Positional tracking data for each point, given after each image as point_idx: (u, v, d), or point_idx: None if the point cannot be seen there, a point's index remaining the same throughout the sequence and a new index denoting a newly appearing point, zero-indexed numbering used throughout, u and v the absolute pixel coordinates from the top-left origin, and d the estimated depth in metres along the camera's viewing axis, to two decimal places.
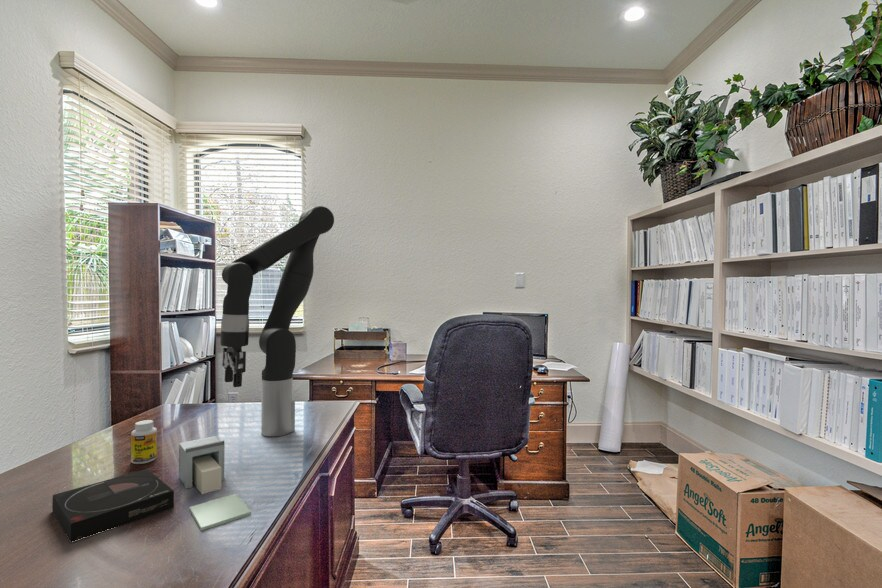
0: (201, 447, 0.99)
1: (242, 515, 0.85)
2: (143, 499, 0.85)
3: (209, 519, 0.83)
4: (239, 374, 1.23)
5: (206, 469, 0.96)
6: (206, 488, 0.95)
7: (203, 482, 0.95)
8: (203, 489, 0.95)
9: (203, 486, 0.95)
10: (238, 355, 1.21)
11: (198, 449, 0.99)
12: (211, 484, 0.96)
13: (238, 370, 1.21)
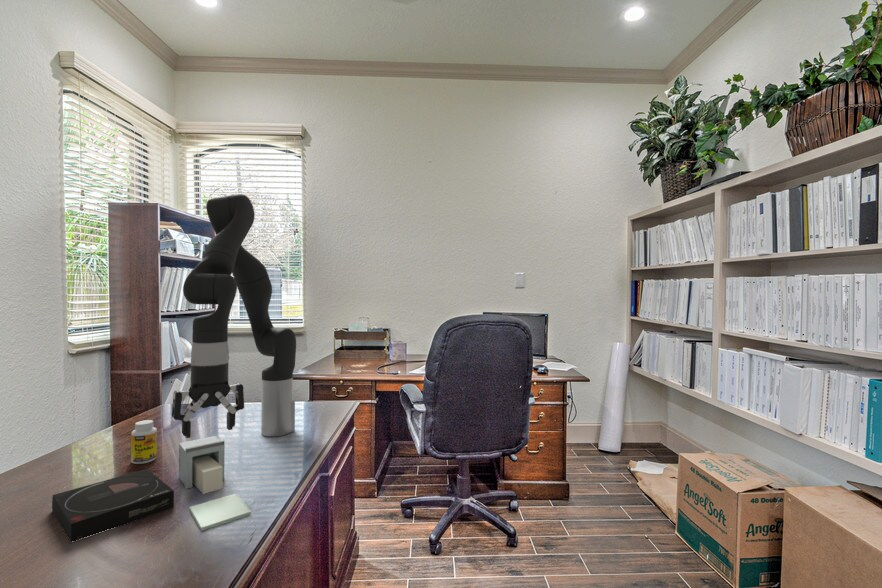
0: (201, 447, 0.99)
1: (242, 515, 0.85)
2: (143, 499, 0.85)
3: (209, 519, 0.83)
4: None
5: (207, 469, 0.96)
6: (207, 488, 0.95)
7: (204, 482, 0.95)
8: (204, 489, 0.95)
9: (204, 486, 0.95)
10: None
11: (198, 449, 0.99)
12: (212, 484, 0.96)
13: None
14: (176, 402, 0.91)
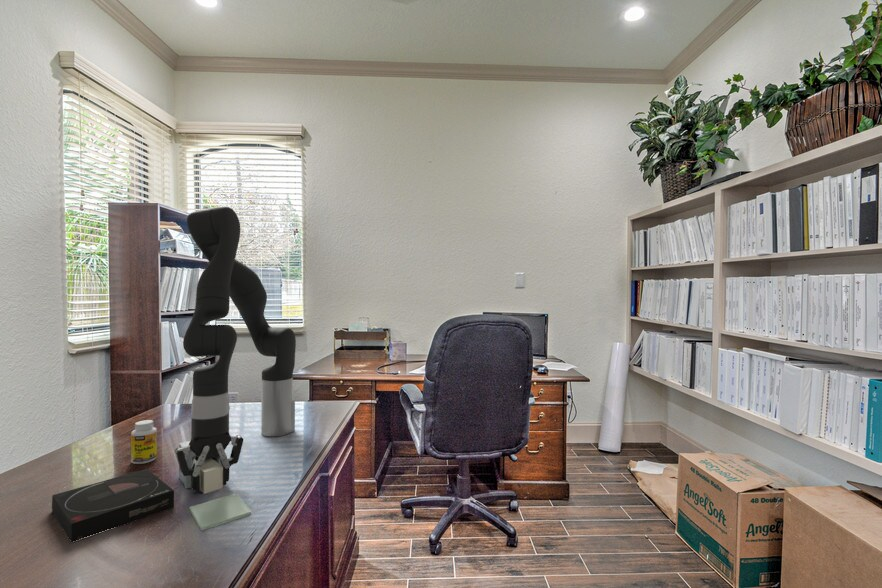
0: None
1: (242, 515, 0.85)
2: (143, 499, 0.85)
3: (209, 519, 0.83)
4: None
5: (207, 469, 0.97)
6: (208, 487, 0.96)
7: (205, 482, 0.95)
8: (205, 489, 0.95)
9: (205, 486, 0.95)
10: None
11: None
12: (213, 483, 0.96)
13: None
14: (180, 460, 0.92)
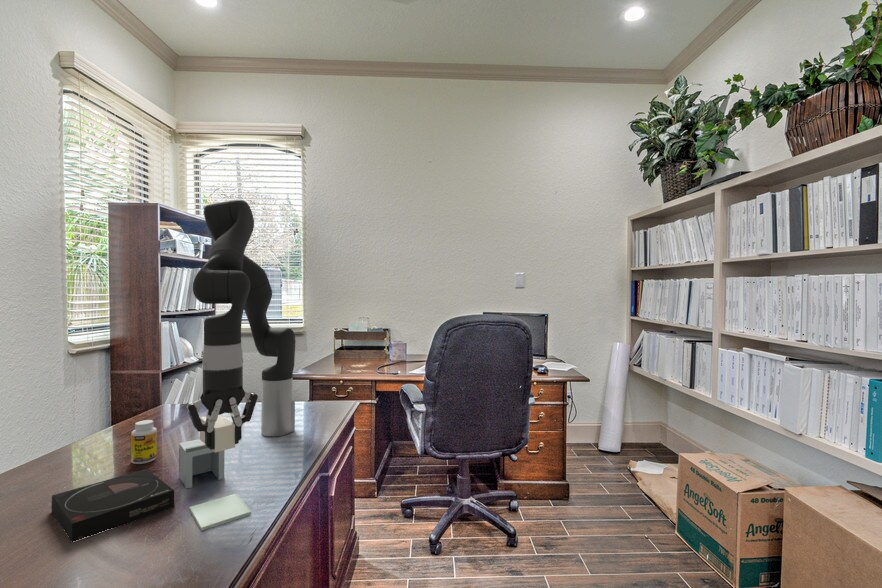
0: (201, 447, 0.99)
1: (242, 515, 0.85)
2: (144, 499, 0.85)
3: (209, 519, 0.83)
4: None
5: (218, 425, 0.90)
6: (219, 445, 0.89)
7: (216, 439, 0.88)
8: (216, 446, 0.88)
9: (216, 443, 0.88)
10: None
11: (198, 449, 0.99)
12: (224, 441, 0.89)
13: None
14: (192, 415, 0.85)
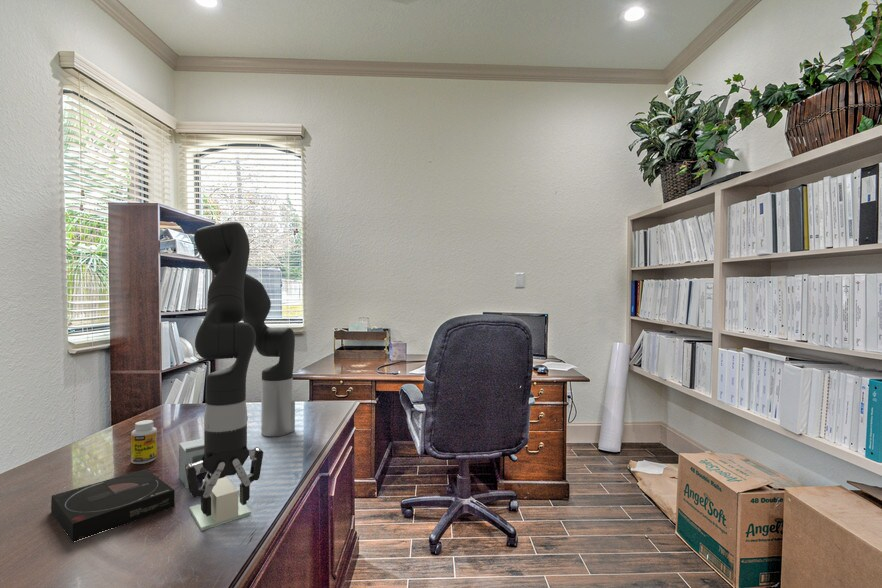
0: (201, 447, 0.99)
1: (242, 515, 0.85)
2: (144, 498, 0.85)
3: (209, 519, 0.83)
4: None
5: (221, 492, 0.84)
6: (221, 515, 0.83)
7: (218, 508, 0.82)
8: (218, 516, 0.82)
9: (218, 513, 0.82)
10: None
11: (198, 449, 0.99)
12: (227, 510, 0.83)
13: None
14: (191, 479, 0.79)
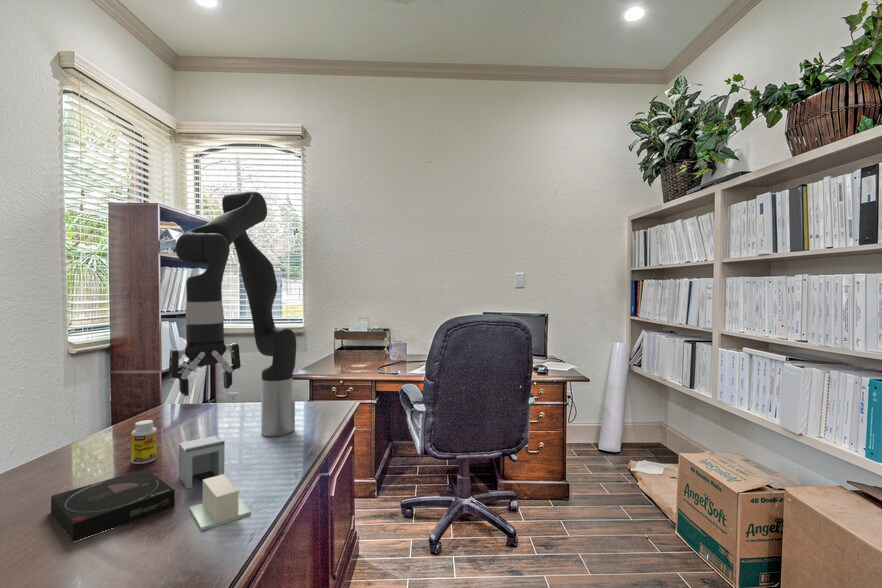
0: (201, 447, 0.99)
1: (242, 515, 0.85)
2: (144, 498, 0.85)
3: (209, 519, 0.83)
4: None
5: (221, 492, 0.84)
6: (221, 515, 0.83)
7: (218, 508, 0.82)
8: (218, 516, 0.82)
9: (218, 513, 0.82)
10: None
11: (198, 449, 0.99)
12: (227, 510, 0.83)
13: None
14: (173, 360, 0.92)
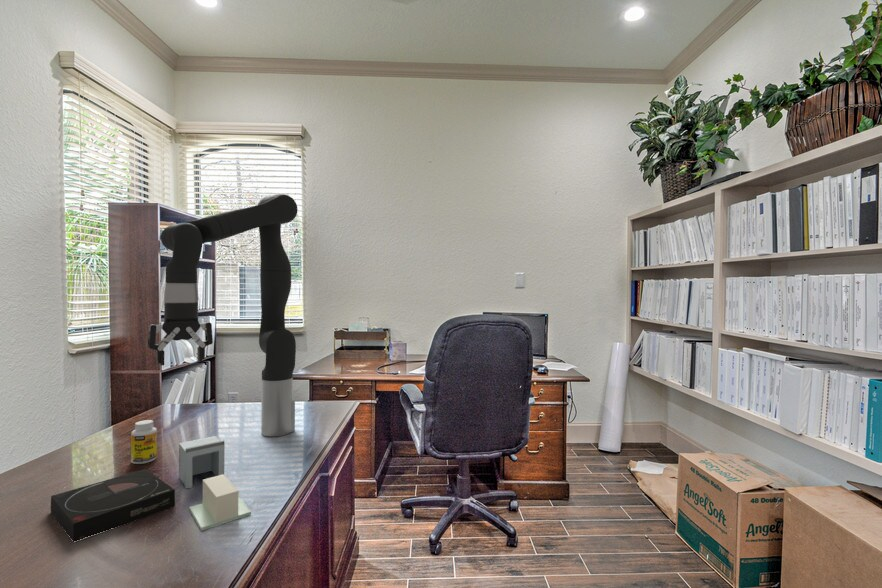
0: (201, 447, 0.99)
1: (242, 515, 0.85)
2: (145, 498, 0.85)
3: (209, 519, 0.83)
4: None
5: (221, 492, 0.84)
6: (221, 515, 0.83)
7: (218, 508, 0.82)
8: (218, 516, 0.82)
9: (218, 513, 0.82)
10: None
11: (198, 449, 0.99)
12: (227, 510, 0.83)
13: None
14: (151, 333, 1.05)
